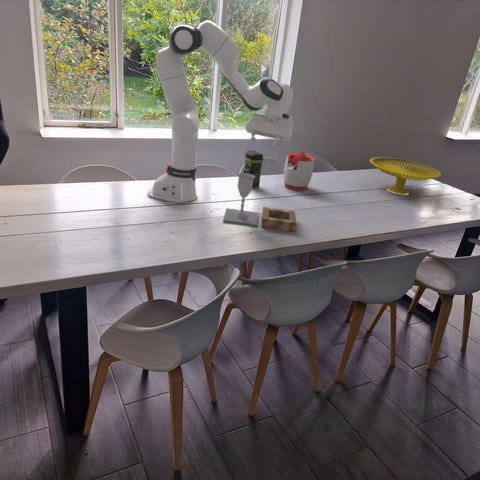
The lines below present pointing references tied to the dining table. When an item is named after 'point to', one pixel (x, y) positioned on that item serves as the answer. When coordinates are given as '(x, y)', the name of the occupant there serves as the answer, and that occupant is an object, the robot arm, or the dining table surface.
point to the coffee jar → (253, 166)
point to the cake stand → (403, 172)
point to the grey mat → (248, 221)
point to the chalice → (244, 191)
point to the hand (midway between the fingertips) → (262, 143)
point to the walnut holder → (278, 219)
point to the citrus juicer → (298, 170)
